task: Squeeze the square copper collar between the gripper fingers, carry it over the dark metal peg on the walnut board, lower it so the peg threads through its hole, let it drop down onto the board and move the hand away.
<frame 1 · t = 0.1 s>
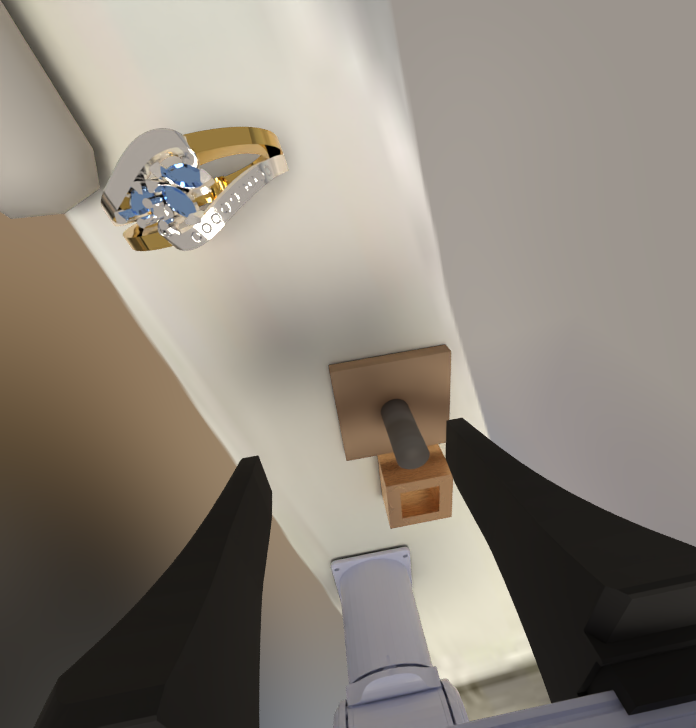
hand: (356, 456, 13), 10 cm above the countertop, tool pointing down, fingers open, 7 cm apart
ring: (224, 188, 17), on the countertop
peg board: (391, 402, 24), on the countertop
collar: (408, 470, 28), on the countertop
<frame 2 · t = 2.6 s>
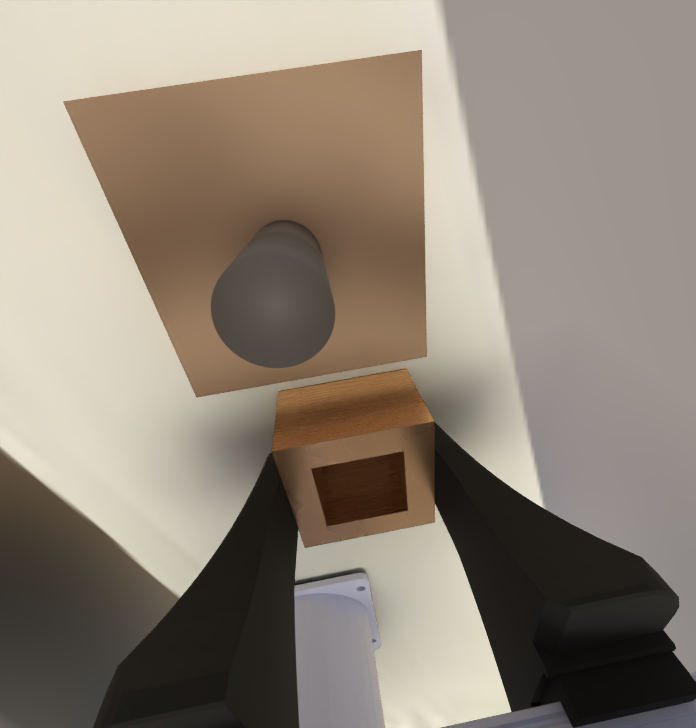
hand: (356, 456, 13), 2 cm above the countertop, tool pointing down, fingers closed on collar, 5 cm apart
peg board: (288, 251, 10), on the countertop
collar: (351, 429, 14), on the countertop, touching gripper
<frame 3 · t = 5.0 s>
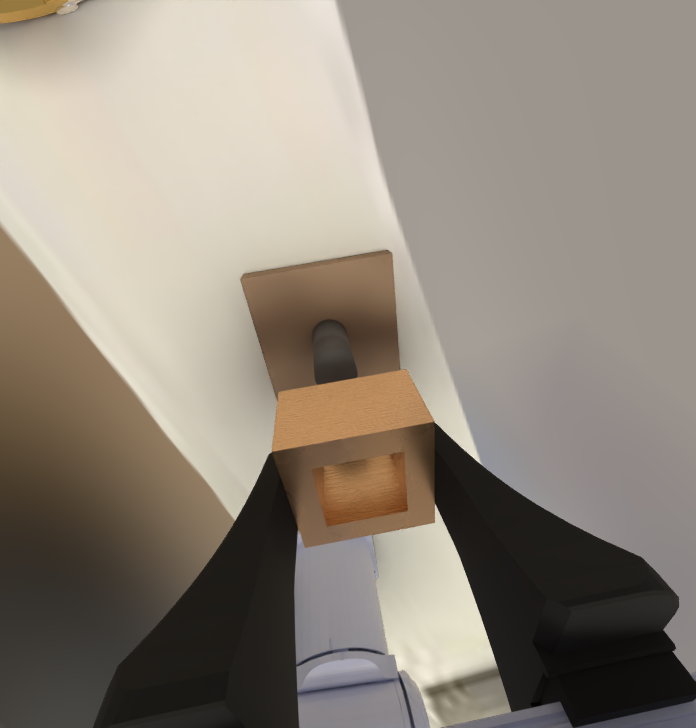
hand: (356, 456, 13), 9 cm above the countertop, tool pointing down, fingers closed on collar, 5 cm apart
peg board: (328, 328, 20), on the countertop
collar: (351, 429, 14), point 8 cm above the countertop, touching gripper
when the fingers open (5 cm above the countertop, at t = 7.4 s): collar drops 2 cm, resting on peg board.
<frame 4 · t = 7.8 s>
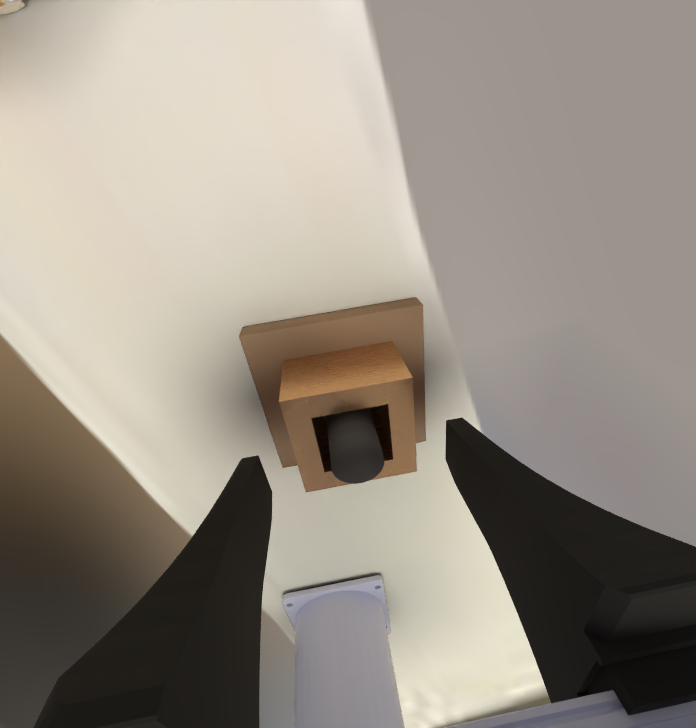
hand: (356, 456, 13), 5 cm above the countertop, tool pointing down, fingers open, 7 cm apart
peg board: (342, 384, 17), on the countertop
collar: (345, 395, 16), point 1 cm above the countertop, touching peg board
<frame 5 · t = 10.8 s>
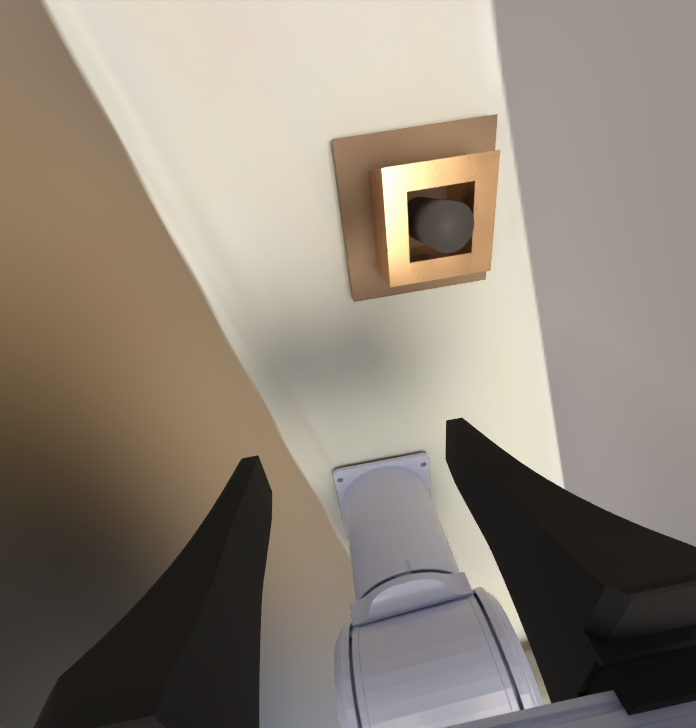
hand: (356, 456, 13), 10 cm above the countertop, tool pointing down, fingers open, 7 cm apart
peg board: (412, 216, 18), on the countertop
collar: (419, 217, 18), point 1 cm above the countertop, touching peg board
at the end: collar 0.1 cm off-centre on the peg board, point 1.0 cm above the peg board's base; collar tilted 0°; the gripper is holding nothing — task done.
